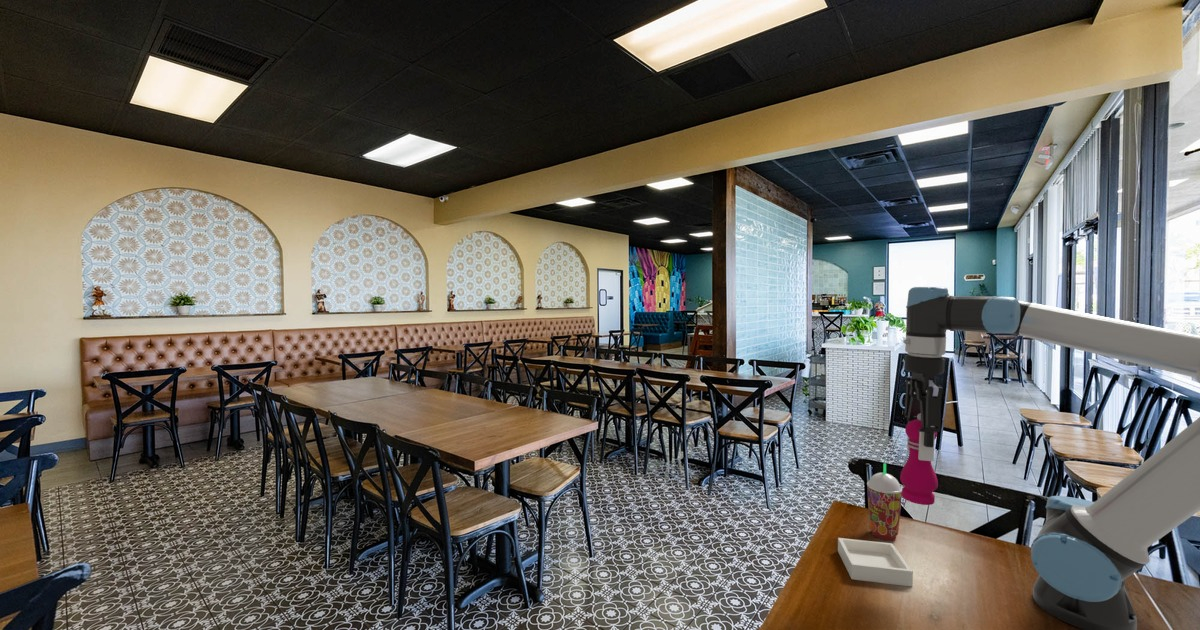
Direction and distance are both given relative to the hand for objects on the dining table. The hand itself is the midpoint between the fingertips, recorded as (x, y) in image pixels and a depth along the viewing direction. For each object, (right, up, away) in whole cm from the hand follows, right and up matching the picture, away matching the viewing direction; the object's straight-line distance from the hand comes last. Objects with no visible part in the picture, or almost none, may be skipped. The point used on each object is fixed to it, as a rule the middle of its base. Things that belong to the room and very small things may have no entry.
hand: (919, 454), depth 109 cm
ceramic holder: (-7, -29, +6) cm, 31 cm away
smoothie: (+5, -29, +22) cm, 36 cm away
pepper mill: (0, -11, +1) cm, 11 cm away
